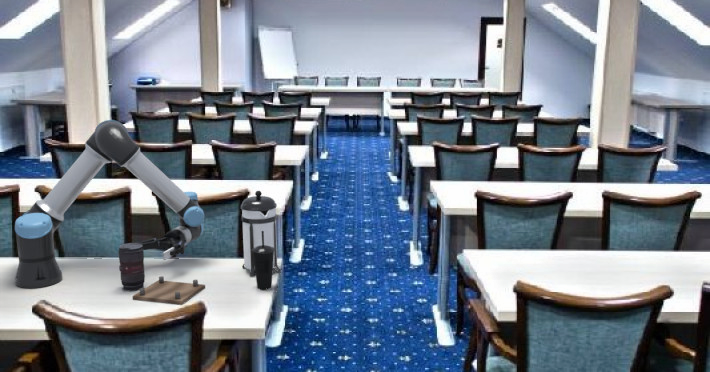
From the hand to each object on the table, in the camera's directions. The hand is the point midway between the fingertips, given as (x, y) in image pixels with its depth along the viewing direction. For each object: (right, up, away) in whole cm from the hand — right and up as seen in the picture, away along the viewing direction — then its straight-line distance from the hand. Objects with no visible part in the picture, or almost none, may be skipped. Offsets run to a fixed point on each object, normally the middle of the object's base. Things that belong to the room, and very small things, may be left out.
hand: (146, 254), depth 256 cm
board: (+11, -12, -13) cm, 21 cm away
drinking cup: (+42, -11, -7) cm, 44 cm away
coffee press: (+38, -7, +11) cm, 40 cm away
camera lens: (-3, -11, -7) cm, 13 cm away
